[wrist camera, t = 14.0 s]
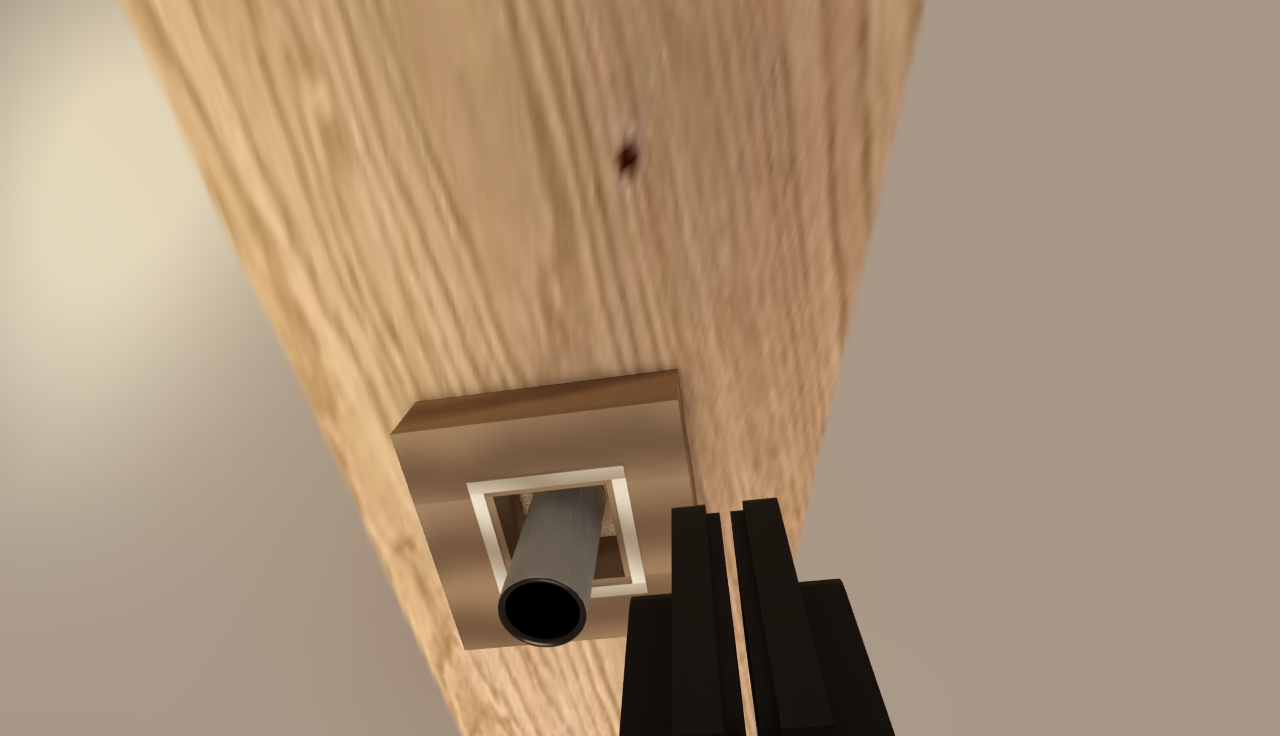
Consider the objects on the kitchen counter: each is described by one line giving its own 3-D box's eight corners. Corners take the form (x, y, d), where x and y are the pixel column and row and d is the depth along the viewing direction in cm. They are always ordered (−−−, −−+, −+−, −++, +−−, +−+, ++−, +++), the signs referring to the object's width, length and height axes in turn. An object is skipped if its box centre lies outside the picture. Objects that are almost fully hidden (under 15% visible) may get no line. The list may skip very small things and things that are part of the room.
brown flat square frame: (415, 402, 40) (388, 436, 36) (677, 369, 38) (677, 401, 35) (481, 605, 46) (464, 652, 42) (709, 584, 45) (712, 631, 41)
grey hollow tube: (529, 468, 42) (488, 580, 32) (600, 463, 41) (580, 575, 32) (541, 527, 43) (505, 650, 34) (609, 523, 43) (592, 646, 34)
